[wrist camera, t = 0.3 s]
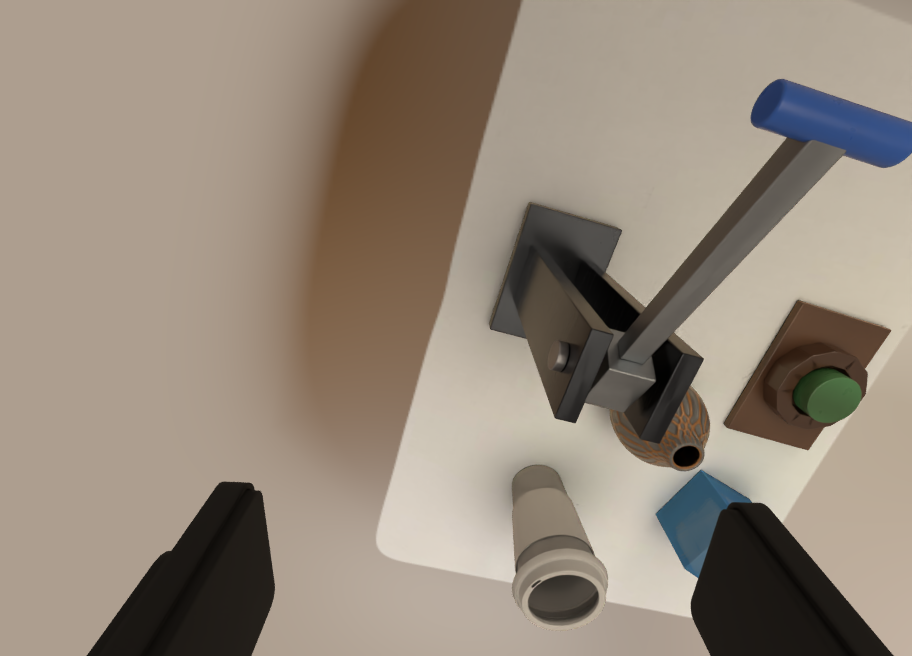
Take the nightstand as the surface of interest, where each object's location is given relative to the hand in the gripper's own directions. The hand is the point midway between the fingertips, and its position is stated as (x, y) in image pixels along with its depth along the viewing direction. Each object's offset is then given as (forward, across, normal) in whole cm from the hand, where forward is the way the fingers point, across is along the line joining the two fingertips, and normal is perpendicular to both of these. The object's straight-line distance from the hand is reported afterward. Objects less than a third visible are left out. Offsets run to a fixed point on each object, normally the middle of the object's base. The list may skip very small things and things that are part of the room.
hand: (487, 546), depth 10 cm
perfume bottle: (+28, -24, +24) cm, 44 cm away
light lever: (+10, -8, -4) cm, 14 cm away
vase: (+28, -16, +12) cm, 34 cm away
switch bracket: (+28, -7, +2) cm, 29 cm away
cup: (+28, -8, +22) cm, 36 cm away
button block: (+28, -29, +10) cm, 41 cm away
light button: (+26, -29, +10) cm, 40 cm away
